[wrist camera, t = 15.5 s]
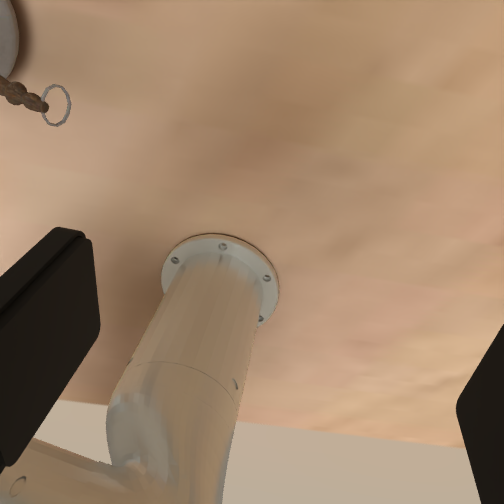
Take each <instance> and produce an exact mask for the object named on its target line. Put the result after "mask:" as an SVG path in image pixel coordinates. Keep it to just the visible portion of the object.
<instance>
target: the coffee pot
mask: <svg viewBox="0 0 504 504" xmlns="http://www.w3.org/2000/svg"><path fill="white" fill-rule="evenodd" d="M18 52H19V30H18V25H17V20H16V15H15V12H14V9H13V7H12V4H11V2H10V0H0V95H2V96H5V97H6V99H7V100H8V102H9V103H11V104H13V105H20V104H24V106H25V107H26V108H28V109H30V110H33V111H36V112H41V114H42V117H43V119H44V120H45V121H46V122H47V124H48V125H50V126H57V127H58V126H60V125H62V124H63V123H65V121H66V120H67V118H68V116H69V114H70V109H71V101H70V97H69V94H68V92H67V91H66V90H65V88H64V87H62V86H60V85H56V84H53V85H51V86H49V87H47V88H46V89H45V91H44V93H43V95H42V97H41V98H40V97H39V96H38V95H36V94H34V93H28V92H27V89H26V87H25V86H24V85H23V84H21V83H19V82H12V83H11V82H9V81H8V80H7V79H6V78H7V77H8V76H9V74H10V73H11V72H12V70H13V67H14V65H15V62H16V58H17V55H18ZM54 87H59V88H61V89H62V90H63V91H64V93H65V94H66V98H67V102H68V106H67V111H66V114H65V116H64V118H63V120H62V121H60V122H58V123H57V124H52V123H50V122H49V121H48V120H47V118H46V116H45V113H46V112H47V111H48V110H49V105H48V104H47V103H46V102H45V97H46V95H47V93H48V91H49V90H50V89H52V88H54Z"/></svg>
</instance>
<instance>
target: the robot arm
mask: <svg viewBox="0 0 504 504" xmlns="http://www.w3.org/2000/svg"><path fill="white" fill-rule="evenodd" d="M161 285H162V289H163V293H164V297H163V299H162V301H161V303H160V304H159V306H158V308H157V310H156V312H155V314H154V316H153V318H152V320H151V321H150V323H149V325H148V327H147V329H146V331H145V333H144V335H143V336H142V338H141V340H140V342H139V344H138V346H137V348H136V350H135V352H134V353H133V355H132V357H131V359H130V361H129V363H128V365H127V367H126V369H125V371H124V373H123V375H122V377H121V378H120V380H119V382H118V384H117V386H116V388H115V390H114V392H113V394H112V396H111V399H110V402H109V406H108V410H107V418H106V434H107V442H108V448H109V453H110V458H111V461H112V465H109V464H106V463H103V462H100V461H99V462H97V461H94V460H91V459H89V458H86V457H84V456H81V455H78V454H76V453H73V452H70V451H68V450H65V449H62V448H60V447H57V446H54V445H52V444H49V443H47V442H44V441H41V440H38V439H36V438H33V436H34V435H35V433H36V431H37V430H38V428H39V427H40V425H41V424H42V422H43V421H44V419H45V418H46V416H47V414H48V413H49V411H50V410H51V408H52V407H53V405H54V404H55V402H56V401H57V399H58V398H59V396H60V395H61V393H62V391H63V390H64V388H65V387H66V385H67V384H68V382H69V381H70V379H71V378H72V376H73V375H74V373H75V372H76V370H77V368H78V367H79V365H80V364H81V362H82V361H83V359H84V358H85V356H86V355H87V353H88V352H89V350H90V348H91V347H92V345H93V344H94V342H95V341H96V339H97V337H98V335H99V332H100V314H99V305H98V295H97V286H96V276H95V266H94V257H93V247H92V242H91V240H89V239H86V237H85V234H84V233H83V232H82V231H78V230H72V229H67V228H62V227H56V228H54V229H52V230H51V231H50V232H49V233H48V234H47V235H46V236H45V237H44V238H43V239H41V240H40V241H39V242H38V243H37V244H36V245H35V246H34V247H33V248H32V249H30V250H29V251H28V252H27V253H26V254H25V255H24V256H23V257H22V258H21V259H19V260H18V261H17V262H16V263H15V264H14V265H13V266H12V267H11V268H10V269H8V270H7V271H6V272H5V273H4V274H3V275H2V276H1V277H0V504H222V498H223V488H224V482H225V476H226V469H227V463H228V458H229V452H230V448H231V443H232V438H233V434H234V429H235V424H236V420H237V416H238V411H239V406H240V402H241V397H242V393H243V388H244V384H245V379H246V374H247V370H248V365H249V361H250V356H251V352H252V347H253V342H254V338H255V333H256V329H257V327H259V326H261V325H262V324H264V323H265V322H266V321H267V320H268V319H269V318H270V317H271V315H272V314H273V312H274V310H275V308H276V305H277V302H278V296H279V282H278V279H277V275H276V272H275V271H274V269H273V267H272V265H271V263H270V262H269V261H268V260H267V259H266V257H265V256H264V255H263V254H262V253H260V252H259V251H258V250H257V249H256V248H254V247H253V246H251V245H249V244H248V243H246V242H244V241H242V240H239V239H237V238H234V237H230V236H226V235H218V234H206V235H198V236H195V237H192V238H189V239H187V240H185V241H183V242H181V243H180V244H179V245H177V246H176V247H175V248H174V249H173V250H172V251H171V253H170V254H169V256H168V257H167V259H166V261H165V263H164V265H163V268H162V272H161ZM456 414H457V418H458V422H459V425H460V429H461V432H462V436H463V439H464V443H465V447H466V450H467V454H468V457H469V461H470V465H471V468H472V472H473V475H474V479H475V483H476V486H477V490H478V493H479V497H480V501H481V504H504V324H503V326H502V327H501V329H500V331H499V332H498V334H497V336H496V337H495V339H494V341H493V342H492V344H491V345H490V347H489V349H488V350H487V352H486V354H485V355H484V357H483V359H482V360H481V362H480V363H479V365H478V367H477V368H476V370H475V372H474V373H473V375H472V377H471V378H470V380H469V381H468V383H467V385H466V386H465V388H464V390H463V391H462V393H461V395H460V396H459V398H458V400H457V404H456Z"/></svg>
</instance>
